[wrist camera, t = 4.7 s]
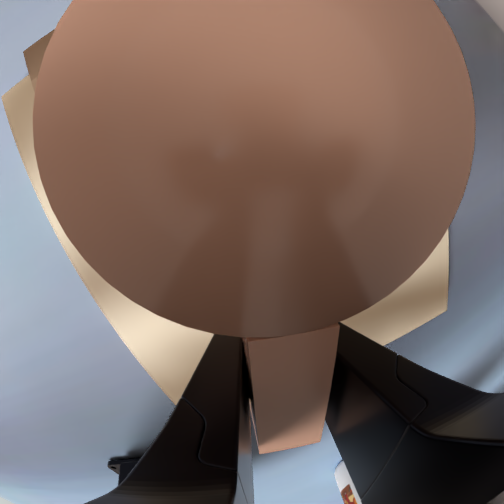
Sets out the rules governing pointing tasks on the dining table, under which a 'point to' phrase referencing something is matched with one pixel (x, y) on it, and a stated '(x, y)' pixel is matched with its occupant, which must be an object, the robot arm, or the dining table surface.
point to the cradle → (188, 339)
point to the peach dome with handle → (256, 168)
